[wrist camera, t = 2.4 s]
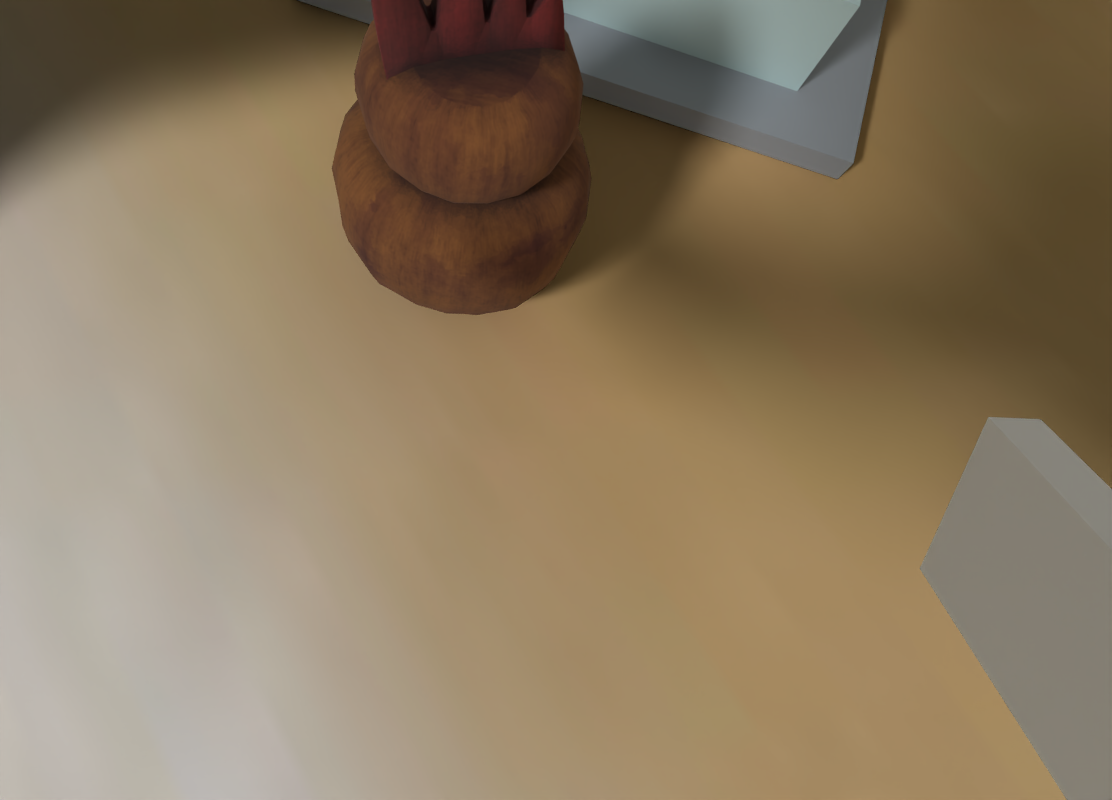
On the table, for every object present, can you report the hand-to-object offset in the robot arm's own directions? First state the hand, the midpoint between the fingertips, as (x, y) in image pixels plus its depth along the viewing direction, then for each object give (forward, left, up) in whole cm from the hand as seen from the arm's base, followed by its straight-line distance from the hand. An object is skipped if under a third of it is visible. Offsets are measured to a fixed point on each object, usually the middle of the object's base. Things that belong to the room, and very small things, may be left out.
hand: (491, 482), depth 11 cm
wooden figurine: (-3, +9, -16) cm, 18 cm away
